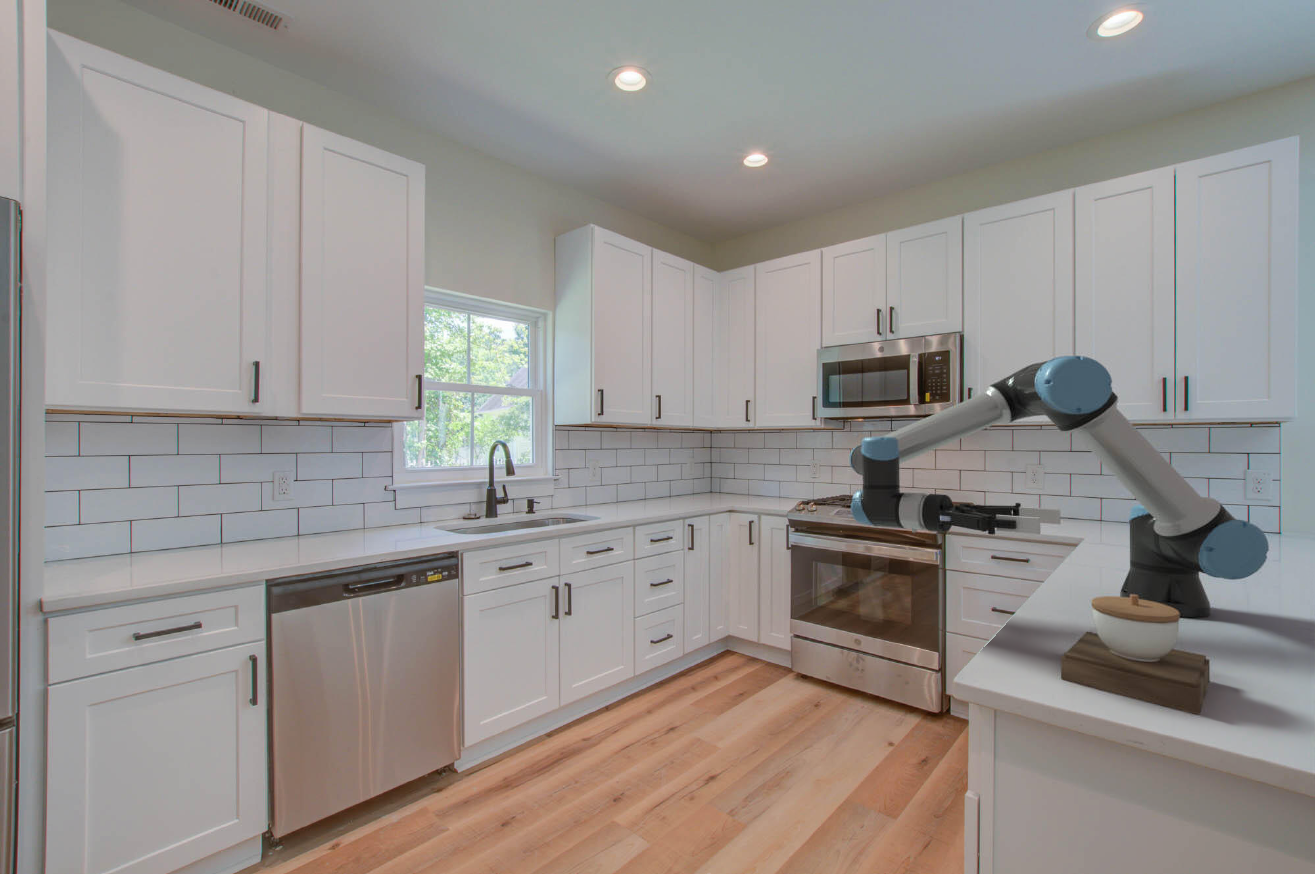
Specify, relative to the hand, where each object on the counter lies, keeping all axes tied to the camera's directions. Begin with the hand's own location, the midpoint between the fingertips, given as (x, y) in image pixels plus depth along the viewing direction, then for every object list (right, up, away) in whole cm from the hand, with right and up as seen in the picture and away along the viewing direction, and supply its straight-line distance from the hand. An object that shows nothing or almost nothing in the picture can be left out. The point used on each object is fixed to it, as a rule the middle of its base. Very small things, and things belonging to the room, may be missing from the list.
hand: (1050, 521), depth 102 cm
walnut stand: (+5, -23, -11) cm, 27 cm away
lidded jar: (+5, -20, -11) cm, 23 cm away
